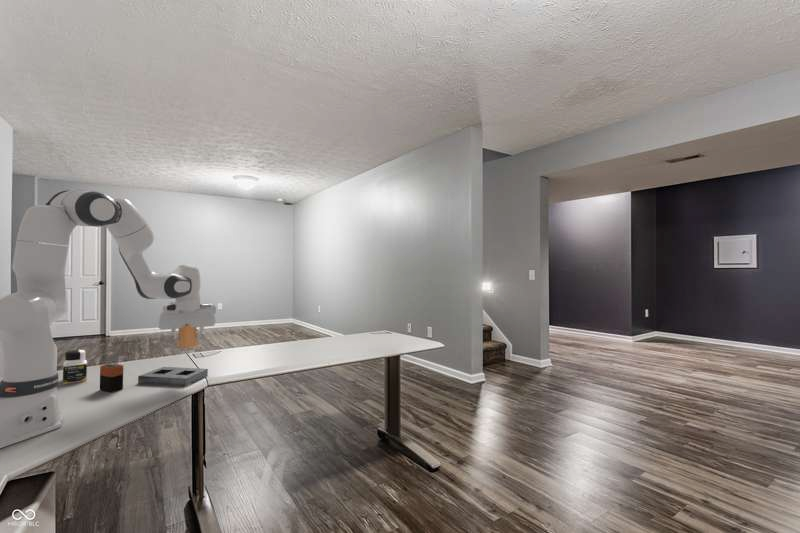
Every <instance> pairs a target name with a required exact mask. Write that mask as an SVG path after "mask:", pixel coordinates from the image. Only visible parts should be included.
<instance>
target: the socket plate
mask: <svg viewBox="0 0 800 533" xmlns="http://www.w3.org/2000/svg"><path fill="white" fill-rule="evenodd" d="M208 369H209V368H200V367H199V368H196V367H177V366H176V367H175V366H163V367H159V368H157V369H154V370H151V371H149V372H146V373H145V372H144V373H143V374H140V375H138V377H137V384H140V385H159V386H174V385H187V386H189V385H188V384H190V383H192V382H194V381H196V380H198V381H200V380H202V379H204V378H207V377H208V374H209V373H208V372H209V370H208ZM201 378H202V379H201ZM199 379H200V380H199ZM196 382H197V381H196ZM194 383H195V382H194ZM192 384H193V383H192ZM190 385H191V384H190Z"/></svg>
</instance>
